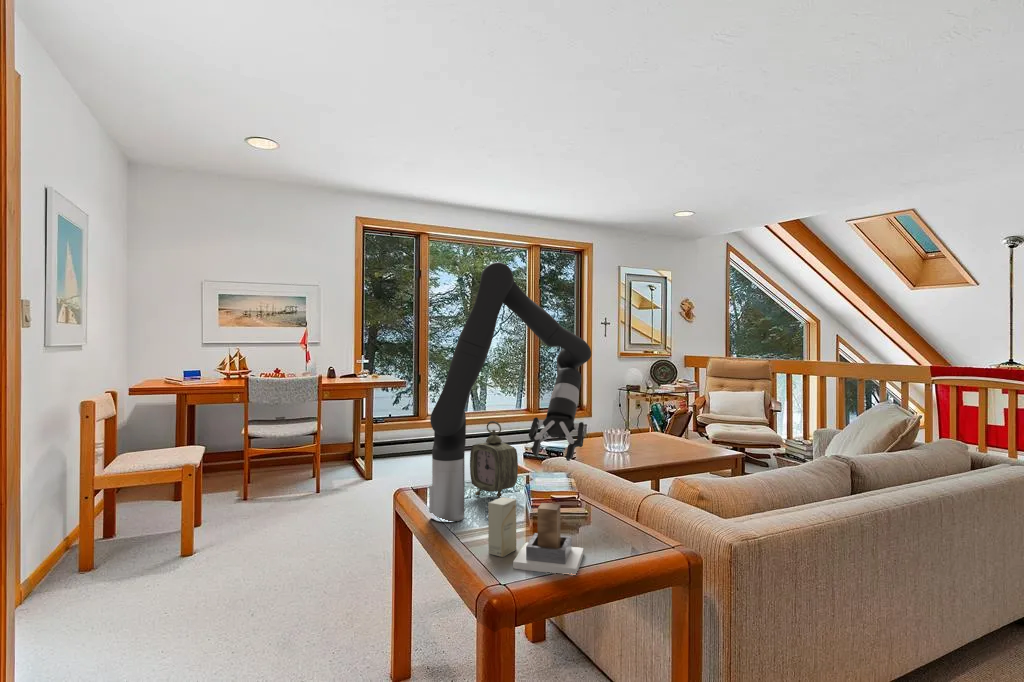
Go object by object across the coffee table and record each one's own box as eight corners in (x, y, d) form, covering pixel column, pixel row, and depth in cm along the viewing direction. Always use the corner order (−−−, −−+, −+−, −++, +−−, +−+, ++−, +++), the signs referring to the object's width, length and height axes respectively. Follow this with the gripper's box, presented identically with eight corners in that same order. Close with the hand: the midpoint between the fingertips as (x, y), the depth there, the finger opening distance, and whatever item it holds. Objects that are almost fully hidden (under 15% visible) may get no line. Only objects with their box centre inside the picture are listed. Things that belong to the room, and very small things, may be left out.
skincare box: (503, 558, 121) (503, 505, 121) (487, 554, 123) (487, 502, 123) (517, 549, 126) (517, 498, 126) (501, 545, 128) (501, 496, 128)
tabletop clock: (469, 496, 171) (469, 420, 171) (490, 491, 177) (490, 417, 177) (498, 506, 160) (498, 425, 160) (520, 500, 166) (520, 422, 166)
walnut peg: (537, 557, 117) (537, 508, 117) (541, 549, 122) (541, 502, 122) (556, 559, 116) (556, 510, 116) (560, 551, 120) (560, 504, 120)
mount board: (512, 568, 115) (512, 548, 115) (526, 548, 126) (526, 529, 126) (576, 575, 111) (576, 554, 111) (583, 554, 123) (583, 535, 123)
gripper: (535, 393, 142) (521, 447, 133) (587, 398, 137) (576, 454, 128) (541, 408, 148) (528, 460, 138) (591, 413, 143) (580, 467, 133)
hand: (551, 457), depth 133 cm, fingers open, 8 cm apart
